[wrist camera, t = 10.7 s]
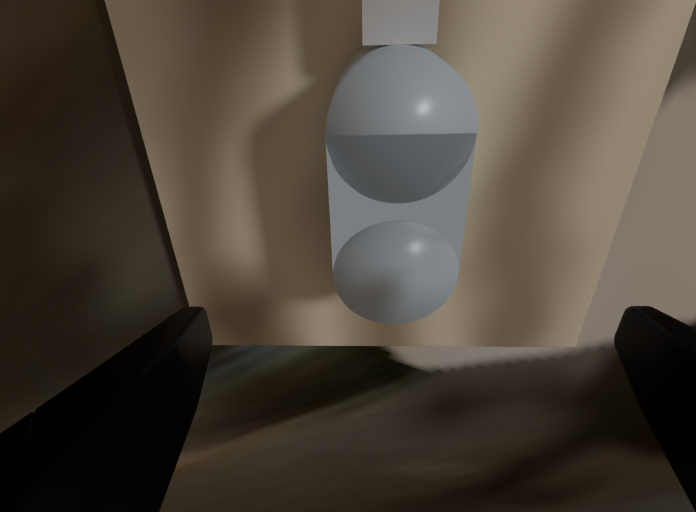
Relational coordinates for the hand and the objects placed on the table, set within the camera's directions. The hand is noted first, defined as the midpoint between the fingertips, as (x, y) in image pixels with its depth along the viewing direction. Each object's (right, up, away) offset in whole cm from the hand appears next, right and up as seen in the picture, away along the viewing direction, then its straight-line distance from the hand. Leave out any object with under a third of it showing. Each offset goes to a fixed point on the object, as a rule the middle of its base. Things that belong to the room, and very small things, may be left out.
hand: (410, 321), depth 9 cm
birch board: (0, +6, +9) cm, 11 cm away
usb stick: (0, +6, +8) cm, 10 cm away
